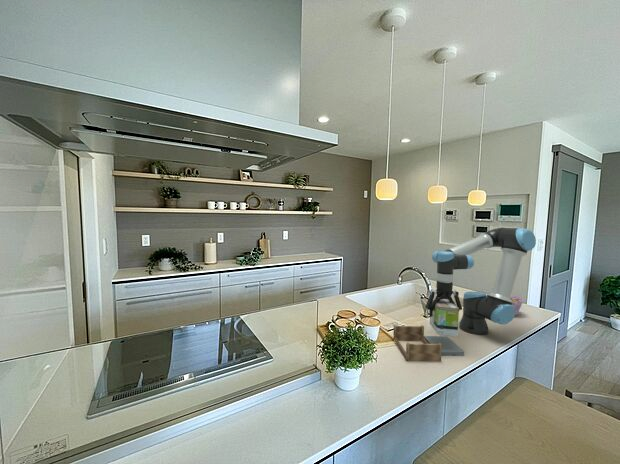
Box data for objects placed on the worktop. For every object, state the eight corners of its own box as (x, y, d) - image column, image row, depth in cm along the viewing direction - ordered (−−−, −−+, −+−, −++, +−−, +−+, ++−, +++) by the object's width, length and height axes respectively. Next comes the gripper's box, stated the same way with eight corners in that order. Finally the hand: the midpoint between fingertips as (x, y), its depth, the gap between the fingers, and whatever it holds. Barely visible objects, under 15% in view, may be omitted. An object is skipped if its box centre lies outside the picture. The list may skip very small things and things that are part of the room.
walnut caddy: (422, 339, 145) (423, 325, 145) (441, 361, 124) (442, 344, 123) (393, 339, 146) (393, 325, 145) (406, 361, 124) (407, 344, 124)
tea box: (458, 337, 128) (459, 307, 128) (436, 335, 130) (437, 306, 130) (448, 324, 143) (449, 298, 142) (429, 323, 145) (429, 297, 144)
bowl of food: (480, 310, 191) (481, 294, 191) (500, 307, 197) (501, 292, 197) (508, 320, 172) (509, 303, 172) (529, 317, 178) (530, 300, 178)
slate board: (446, 339, 146) (446, 336, 146) (464, 355, 129) (464, 351, 129) (423, 339, 146) (423, 335, 146) (437, 355, 129) (437, 351, 129)
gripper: (462, 279, 139) (461, 319, 140) (419, 279, 139) (418, 319, 140) (471, 283, 131) (469, 325, 133) (425, 282, 132) (424, 325, 133)
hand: (443, 322), depth 137 cm, fingers closed on tea box, 11 cm apart
